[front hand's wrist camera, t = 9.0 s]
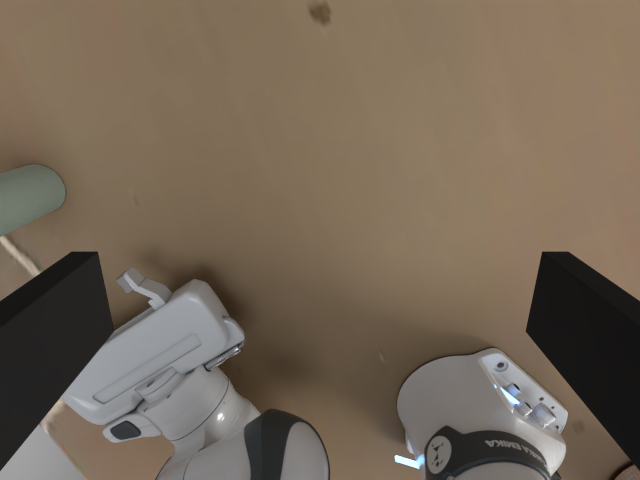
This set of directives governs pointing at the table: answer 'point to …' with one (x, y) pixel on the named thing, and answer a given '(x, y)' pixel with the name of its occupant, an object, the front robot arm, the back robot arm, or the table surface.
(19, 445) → the front robot arm
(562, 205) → the table surface
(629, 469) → the planter
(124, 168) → the table surface
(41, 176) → the bottle
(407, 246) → the table surface
